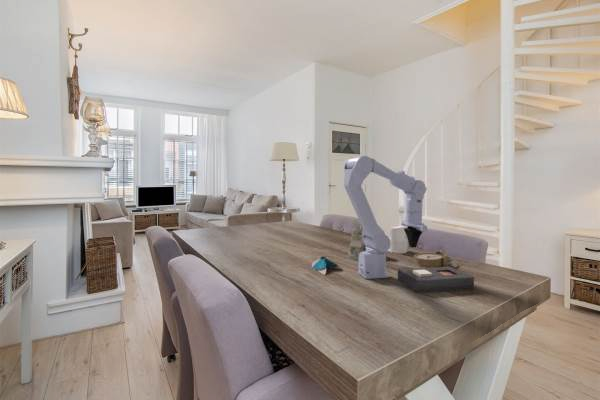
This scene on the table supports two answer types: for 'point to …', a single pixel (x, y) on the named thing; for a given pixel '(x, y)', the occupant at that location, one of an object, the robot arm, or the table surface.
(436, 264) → the alarm clock
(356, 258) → the ceramic cottage
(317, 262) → the decorative butterfly
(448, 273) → the red key
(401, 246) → the cream upright block
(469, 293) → the table surface
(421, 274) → the cream key
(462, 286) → the grey flat block
